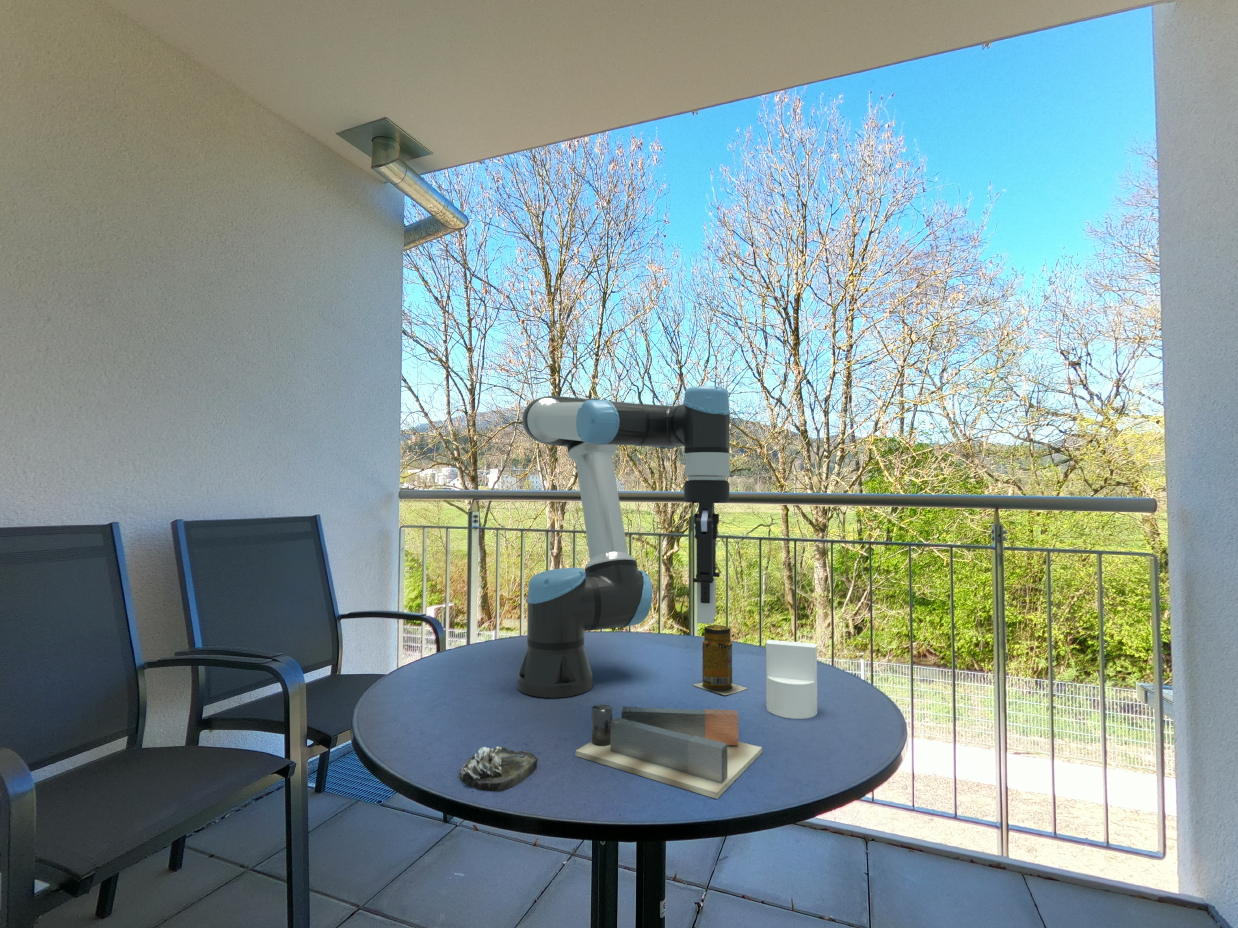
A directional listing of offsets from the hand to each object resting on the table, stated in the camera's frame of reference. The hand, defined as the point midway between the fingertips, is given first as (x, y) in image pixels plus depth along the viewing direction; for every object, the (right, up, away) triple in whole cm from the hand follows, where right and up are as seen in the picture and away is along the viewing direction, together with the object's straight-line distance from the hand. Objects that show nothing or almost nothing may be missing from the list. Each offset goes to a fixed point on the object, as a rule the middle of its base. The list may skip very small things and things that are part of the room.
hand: (706, 619), depth 101 cm
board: (-7, -18, -9) cm, 21 cm away
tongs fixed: (-9, -17, -12) cm, 23 cm away
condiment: (+6, -20, +23) cm, 31 cm away
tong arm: (-5, -17, -6) cm, 19 cm away
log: (-32, -18, -14) cm, 39 cm away
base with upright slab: (+17, -19, +11) cm, 28 cm away
